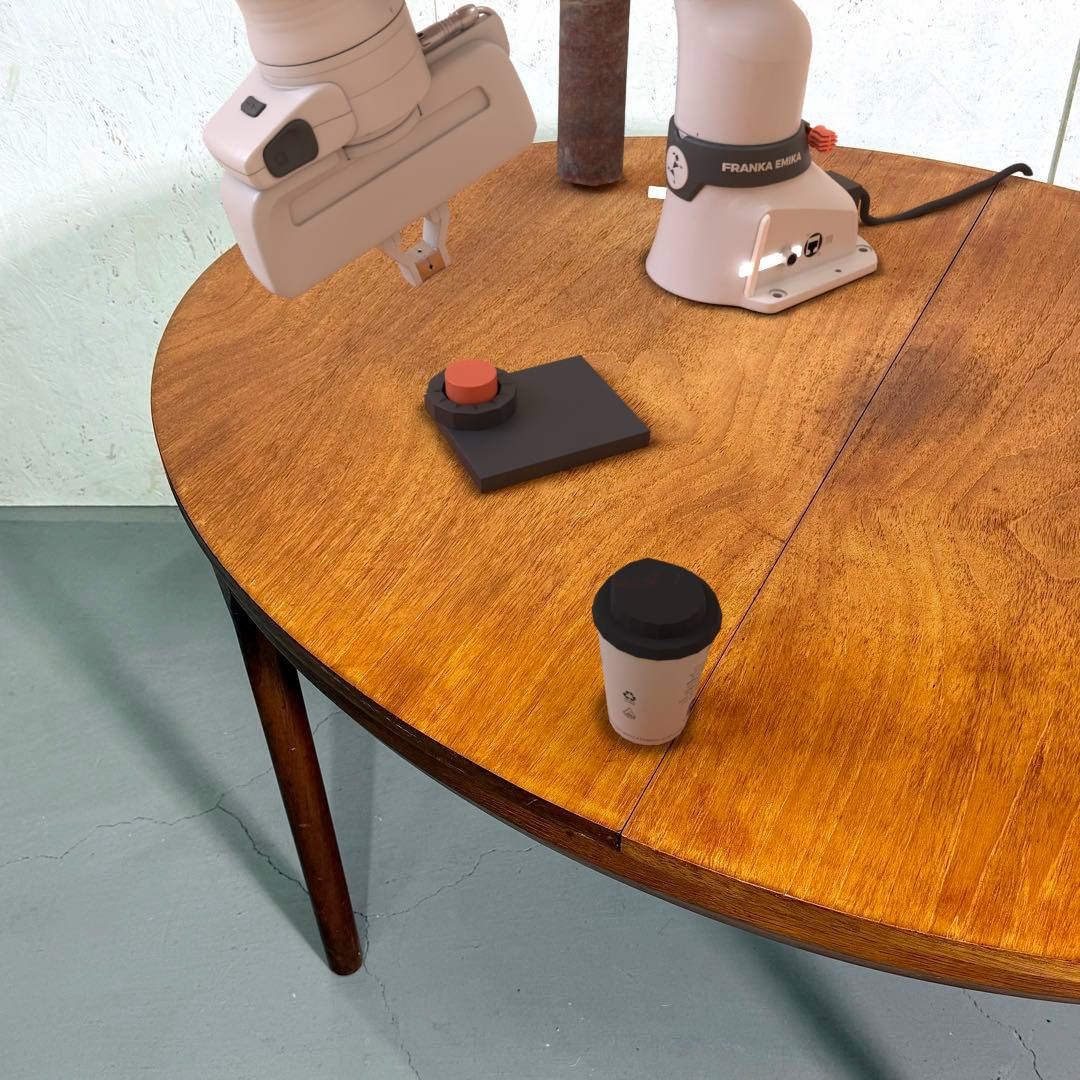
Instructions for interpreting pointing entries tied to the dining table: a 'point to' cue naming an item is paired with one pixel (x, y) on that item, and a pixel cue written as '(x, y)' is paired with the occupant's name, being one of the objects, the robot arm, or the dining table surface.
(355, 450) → the dining table surface
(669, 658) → the coffee cup
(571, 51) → the candle
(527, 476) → the dark grey button base
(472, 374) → the red button cap
